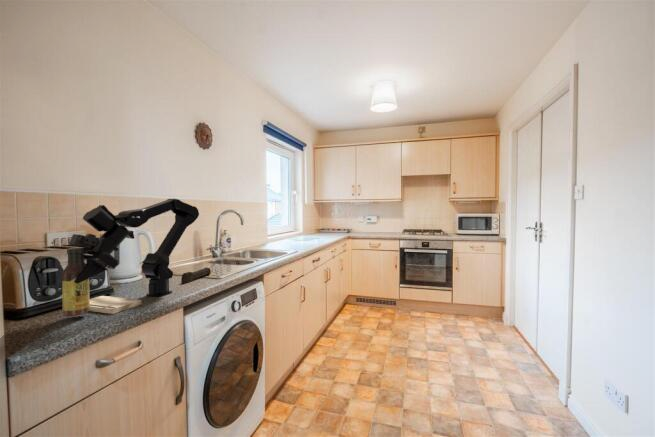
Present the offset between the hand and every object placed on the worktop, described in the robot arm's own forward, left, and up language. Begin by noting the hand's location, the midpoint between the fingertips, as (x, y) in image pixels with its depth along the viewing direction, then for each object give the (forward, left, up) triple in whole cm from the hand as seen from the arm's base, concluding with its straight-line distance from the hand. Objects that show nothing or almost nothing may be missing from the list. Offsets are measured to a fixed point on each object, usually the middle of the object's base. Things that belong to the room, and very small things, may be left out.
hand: (70, 281), depth 88 cm
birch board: (-12, -1, -11) cm, 16 cm away
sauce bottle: (-1, 0, -10) cm, 10 cm away
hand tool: (-53, 0, -12) cm, 55 cm away
